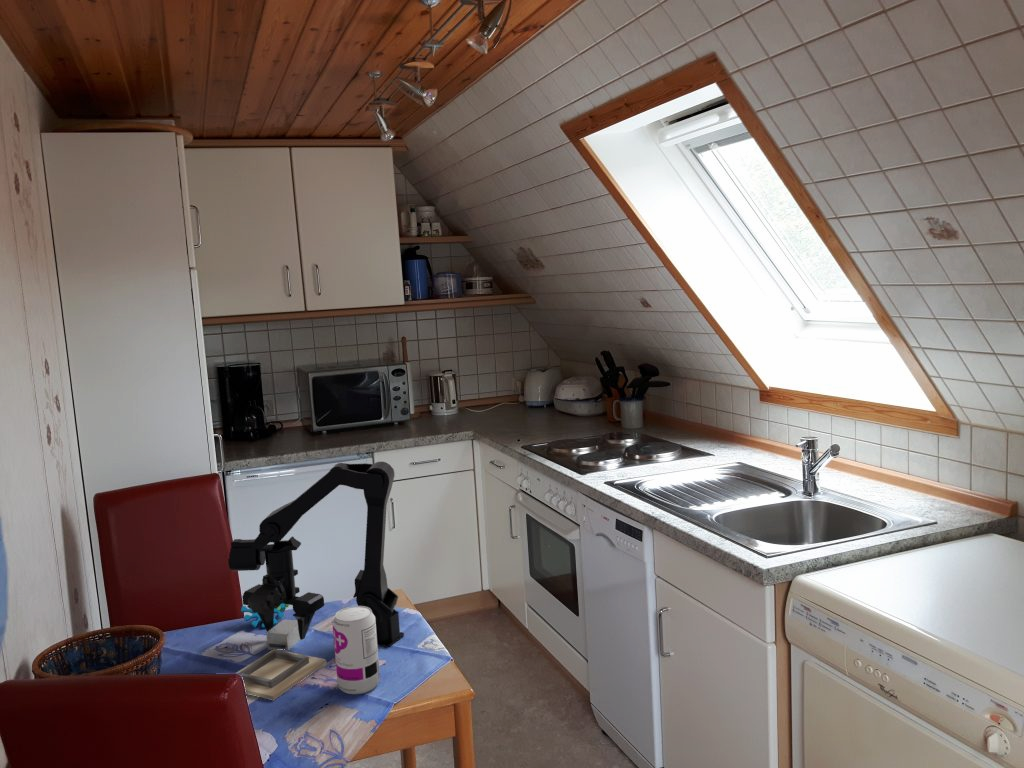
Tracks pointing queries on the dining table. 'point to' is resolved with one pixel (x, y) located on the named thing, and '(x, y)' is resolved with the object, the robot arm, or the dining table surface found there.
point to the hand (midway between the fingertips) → (286, 636)
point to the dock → (278, 672)
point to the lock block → (283, 635)
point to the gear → (255, 615)
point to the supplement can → (356, 650)
